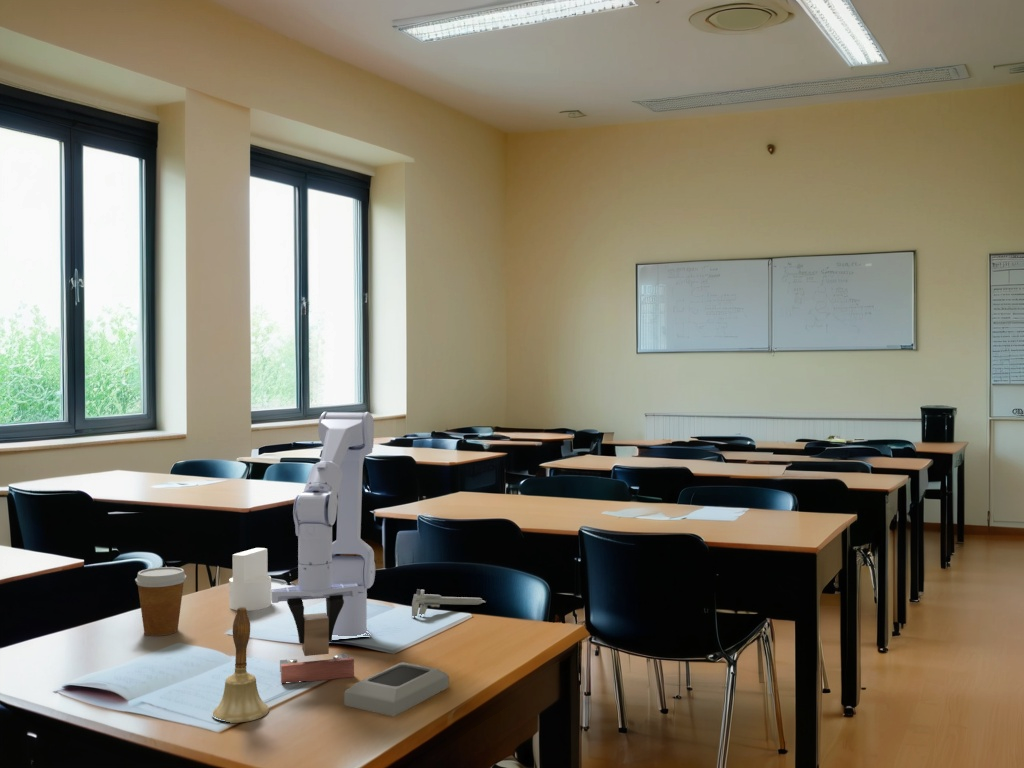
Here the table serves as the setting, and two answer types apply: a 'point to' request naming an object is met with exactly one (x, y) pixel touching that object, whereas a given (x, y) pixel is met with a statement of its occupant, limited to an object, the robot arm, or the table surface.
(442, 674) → the bevelled grey desktop device
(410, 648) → the table surface
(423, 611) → the caliper
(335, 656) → the block
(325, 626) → the block
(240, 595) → the cylinder with rectangular tab
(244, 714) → the hand bell
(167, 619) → the disposable coffee cup
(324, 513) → the robot arm
